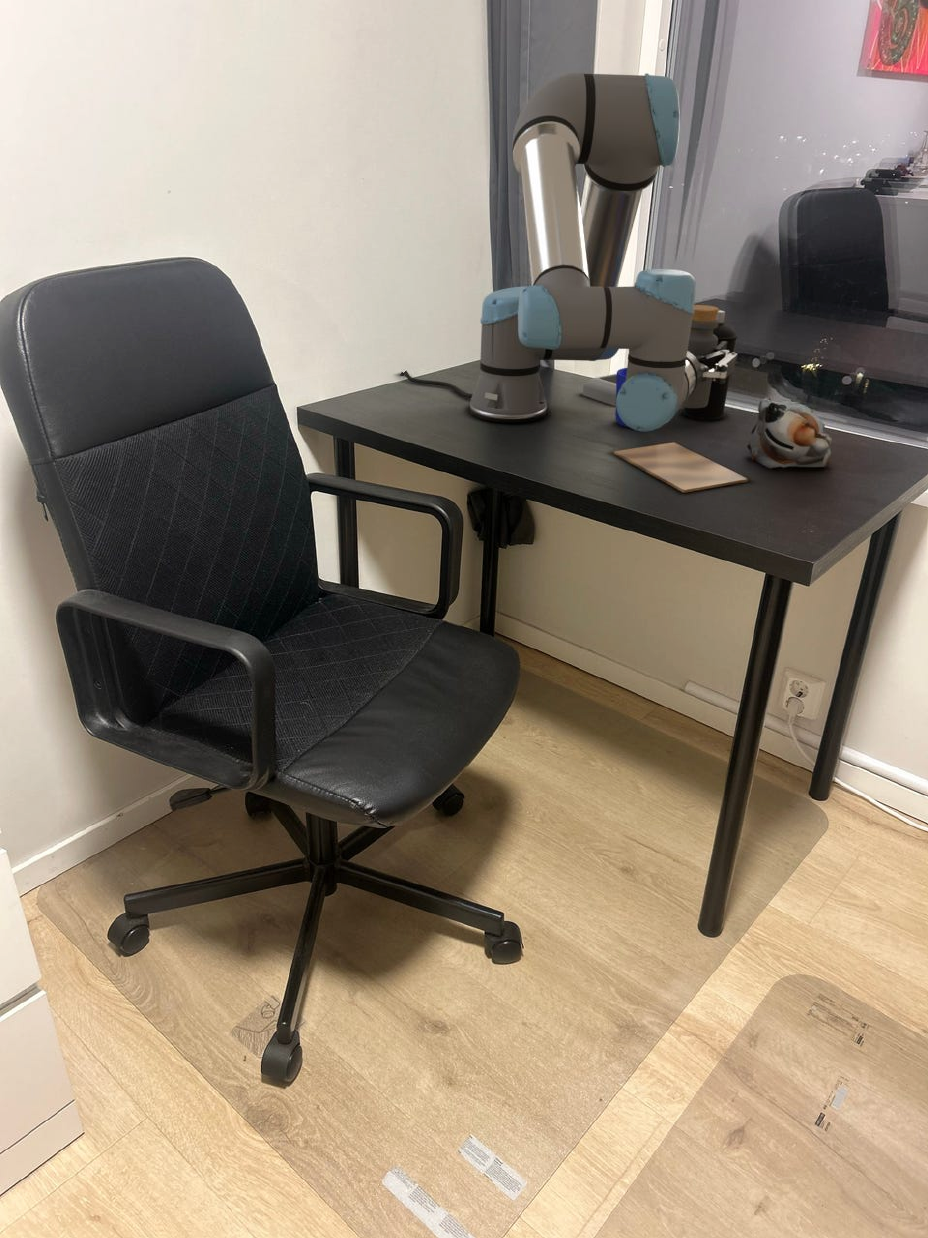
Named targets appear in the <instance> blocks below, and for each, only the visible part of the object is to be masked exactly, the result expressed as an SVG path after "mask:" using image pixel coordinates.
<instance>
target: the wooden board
mask: <svg viewBox="0 0 928 1238" xmlns="http://www.w3.org/2000/svg"><path fill="white" fill-rule="evenodd" d="M613 454H614V455H615V456H617V457H619V458H621V459H622V460H624V461H626V462H627V463H630V464H631V465H633V466H634V467H636V468H638V469H639V470H642V471H643V472H645V473H647V474H649V475H651V476H652V477H654V478H656V479H658V480H659V481H662V482H663V483H665V484H667V485H669V486H670V487H672V488H674V489H676V490H677V491H679V492H681V493H683V494H685V493H686V494H687V493H691V492H698V491H702V490H709V489H714V488H720V487H725V486H731V485H737V484H742V483H748V482H749V478H747V477H745V476H743V475H741V474H739V473H737V472H736V471H734V470H731V469H729V468H727V467H725V466H723V465H722V464H719V463H717V462H715V461H713V460H710V459H709V458H708V457H707V458H706V457H704V456H703V455H701V454H698V453H697V452H695V451H692V450H690V449H688V448H686V447H684V446H682V445H680V444H678V443H677V442H674V441H673V442H668V443H660V444H654V445H653V444H652V445H647V446H640V447H634V448H627V449H619V450H614V451H613Z"/></svg>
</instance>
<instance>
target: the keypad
mask: <svg viewBox="0 0 928 1238" xmlns="http://www.w3.org/2000/svg"><path fill="white" fill-rule="evenodd" d="M616 379H617V373H613V374H608V375H602V376H598V377H597V376H596V377H593V378H591V379H589V380H587V381H586V382H584V384H583V386H582V396H584V397H587V398H590V399H593V400H596V401H598V402H601V403H605V404H608V405H610V406H612V407H616Z"/></svg>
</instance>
